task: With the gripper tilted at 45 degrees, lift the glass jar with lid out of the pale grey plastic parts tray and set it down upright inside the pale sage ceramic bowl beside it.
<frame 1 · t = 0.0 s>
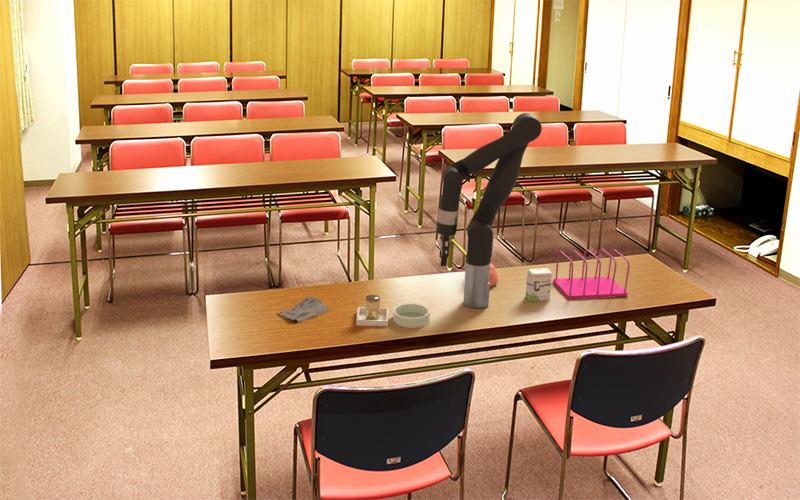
hand: (442, 261, 268), 17 cm above the table, tool pointing down, fingers open, 8 cm apart
parts tray: (372, 320, 259), on the table
teapot: (482, 282, 295), on the table
bowl: (411, 320, 259), on the table
ink box: (537, 299, 280), on the table
file sorter: (589, 290, 290), on the table
glass jar with lid: (372, 318, 259), resting on parts tray
fossil rock: (303, 312, 266), on the table
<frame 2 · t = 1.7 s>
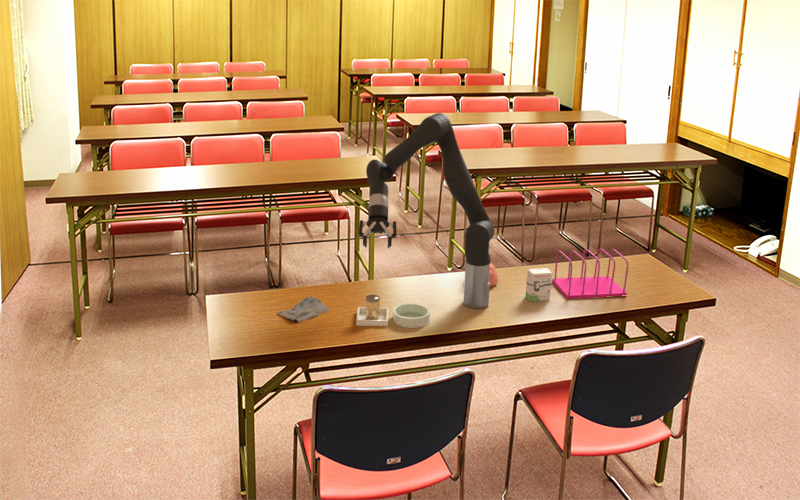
hand: (377, 247, 265), 23 cm above the table, tool tilted 45°, fingers open, 8 cm apart
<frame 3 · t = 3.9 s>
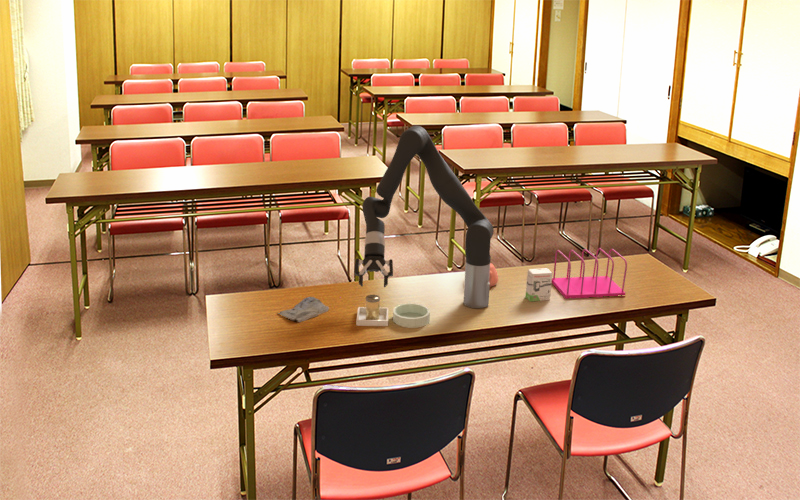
hand: (373, 286, 261), 11 cm above the table, tool tilted 45°, fingers open, 8 cm apart
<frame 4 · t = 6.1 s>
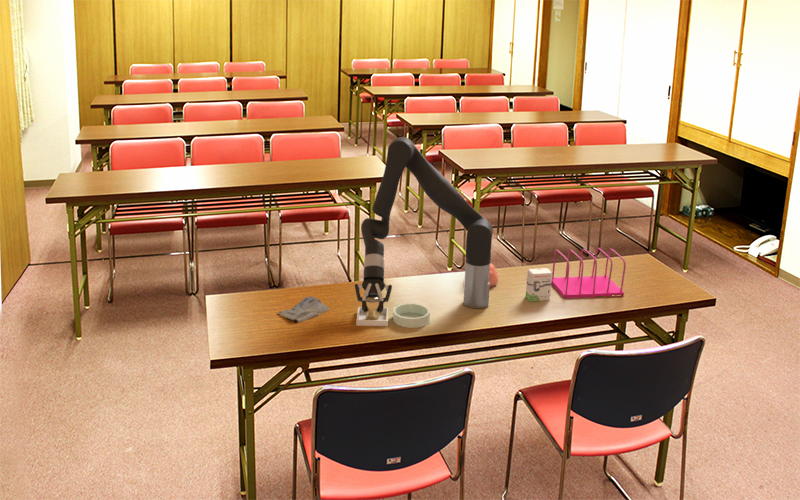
hand: (372, 311, 256), 4 cm above the table, tool tilted 45°, fingers closed on glass jar with lid, 5 cm apart
glass jar with lid: (372, 318, 259), resting on parts tray, touching gripper
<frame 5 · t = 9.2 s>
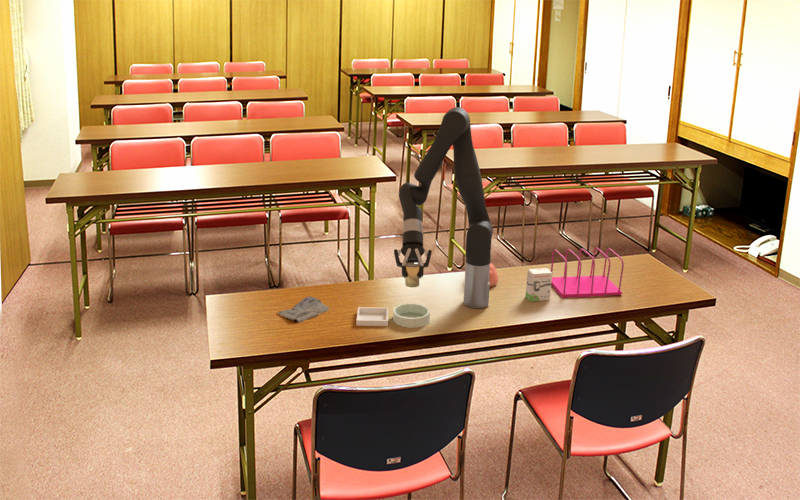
hand: (412, 277, 251), 18 cm above the table, tool tilted 45°, fingers closed on glass jar with lid, 5 cm apart
glass jar with lid: (412, 284, 254), point 14 cm above the table, touching gripper
when the fingers open (6 cm above the table, at t = 12.3 s): glass jar with lid drops 2 cm, resting on bowl.
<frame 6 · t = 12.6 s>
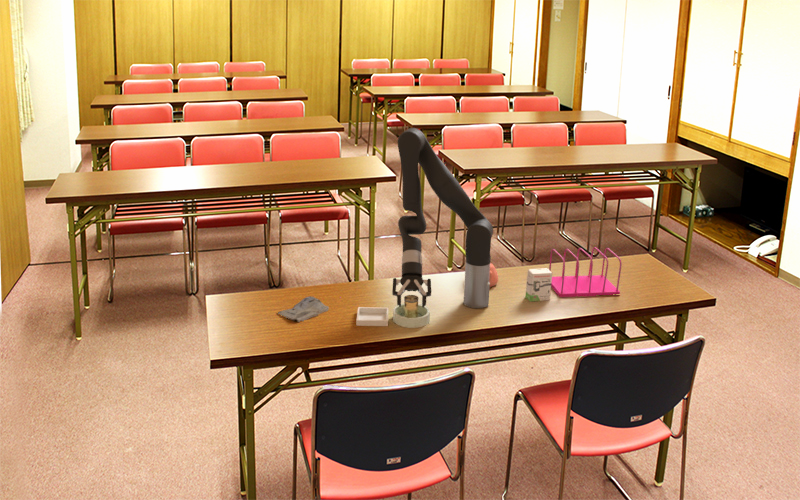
hand: (411, 306, 256), 6 cm above the table, tool tilted 45°, fingers open, 8 cm apart
glass jar with lid: (410, 319, 259), point 1 cm above the table, touching bowl
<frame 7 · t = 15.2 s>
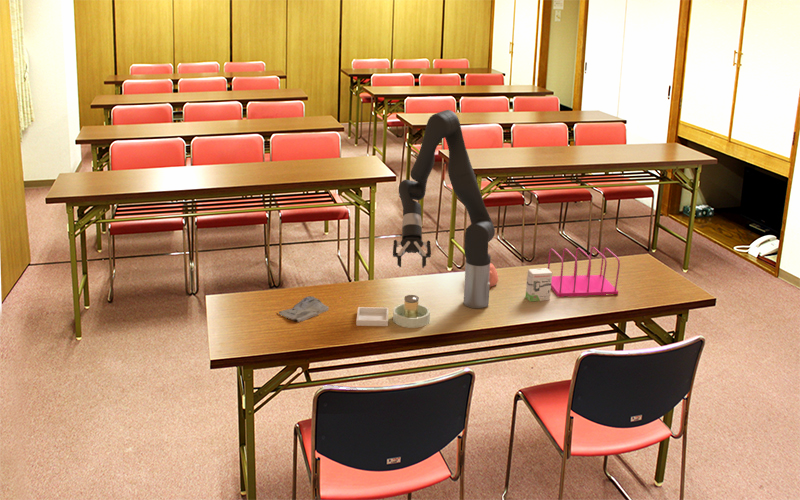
hand: (411, 266, 264), 16 cm above the table, tool tilted 45°, fingers open, 8 cm apart
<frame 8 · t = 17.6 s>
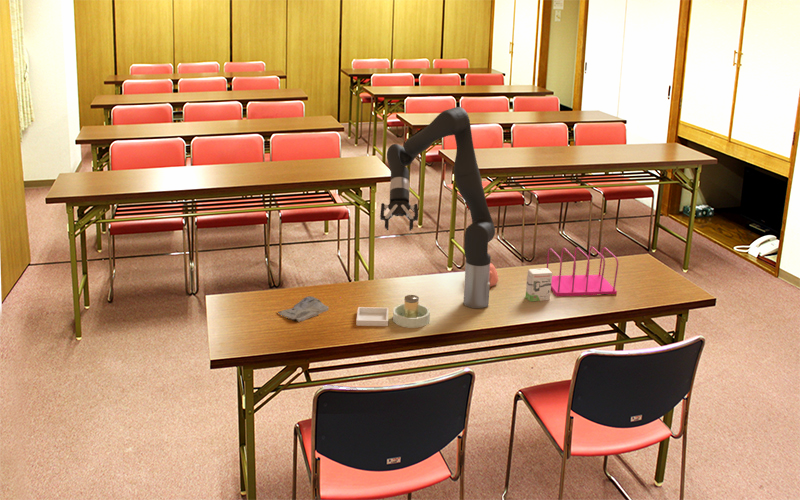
hand: (399, 229, 267), 29 cm above the table, tool tilted 45°, fingers open, 8 cm apart
at the end: glass jar with lid 0.1 cm off-centre on the bowl, point 0.6 cm above the bowl's base; glass jar with lid tilted 0°; the gripper is holding nothing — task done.
